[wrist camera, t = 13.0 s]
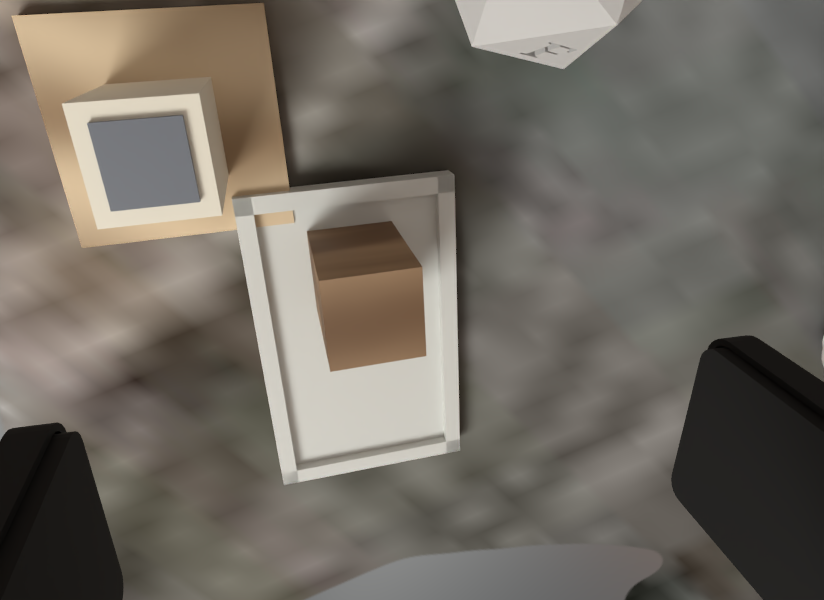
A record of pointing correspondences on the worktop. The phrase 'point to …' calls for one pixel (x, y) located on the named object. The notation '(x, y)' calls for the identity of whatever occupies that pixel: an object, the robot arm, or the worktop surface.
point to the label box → (149, 151)
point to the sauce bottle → (823, 351)
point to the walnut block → (367, 295)
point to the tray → (303, 341)
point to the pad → (163, 60)
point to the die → (541, 26)
